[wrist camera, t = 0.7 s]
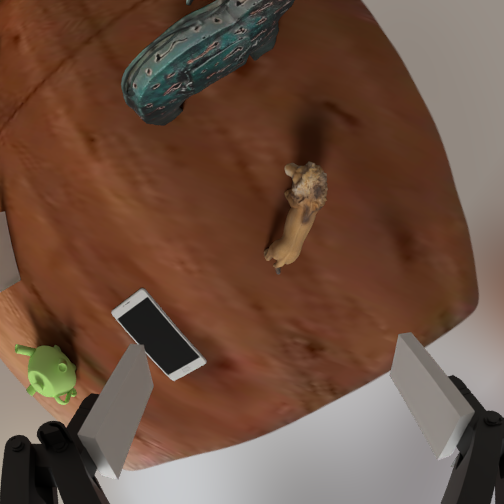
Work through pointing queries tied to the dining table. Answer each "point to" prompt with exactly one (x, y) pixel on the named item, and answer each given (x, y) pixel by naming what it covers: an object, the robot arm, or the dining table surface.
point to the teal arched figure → (199, 54)
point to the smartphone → (158, 335)
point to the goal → (6, 257)
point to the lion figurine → (299, 211)
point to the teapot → (49, 372)
